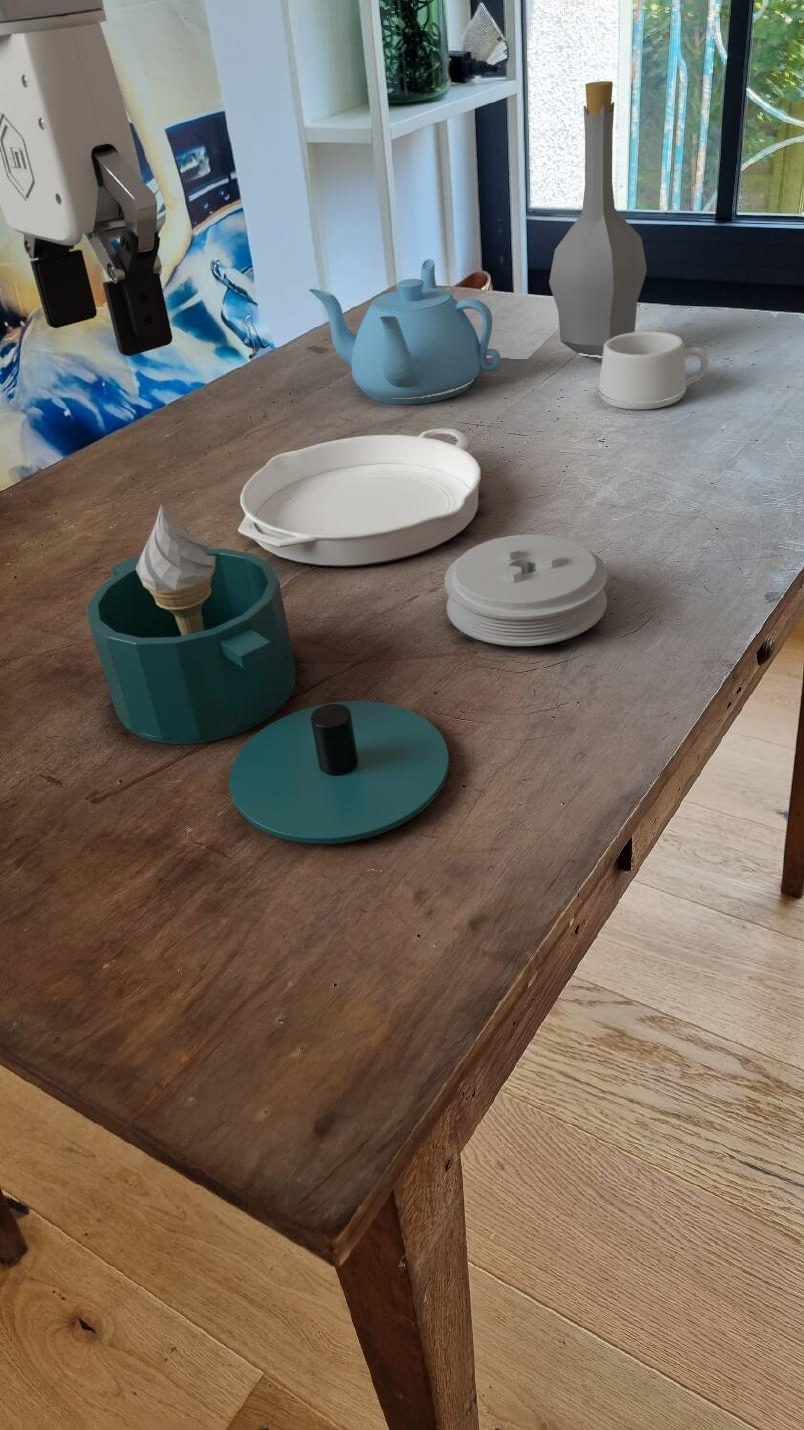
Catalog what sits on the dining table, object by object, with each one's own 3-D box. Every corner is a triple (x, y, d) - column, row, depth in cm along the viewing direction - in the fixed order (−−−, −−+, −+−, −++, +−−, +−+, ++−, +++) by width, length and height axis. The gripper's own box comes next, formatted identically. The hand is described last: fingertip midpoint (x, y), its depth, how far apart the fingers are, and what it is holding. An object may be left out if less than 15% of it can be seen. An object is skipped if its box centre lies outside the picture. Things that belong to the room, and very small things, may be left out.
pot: (191, 786, 75) (163, 682, 70) (72, 679, 87) (41, 585, 83) (352, 702, 81) (336, 601, 76) (218, 613, 94) (198, 522, 89)
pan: (179, 538, 107) (170, 500, 104) (374, 442, 122) (370, 407, 119) (358, 609, 92) (352, 566, 90) (554, 490, 107) (553, 451, 105)
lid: (491, 565, 96) (488, 512, 93) (630, 591, 90) (631, 535, 87) (419, 637, 87) (413, 581, 85) (567, 670, 82) (566, 612, 79)
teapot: (317, 389, 138) (302, 287, 131) (437, 351, 146) (429, 252, 138) (394, 423, 126) (383, 313, 119) (521, 379, 133) (517, 273, 126)
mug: (604, 415, 121) (604, 361, 118) (594, 385, 129) (594, 333, 126) (715, 406, 121) (719, 350, 117) (698, 376, 128) (701, 324, 125)
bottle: (645, 375, 130) (654, 85, 113) (549, 379, 133) (543, 95, 115) (643, 345, 139) (651, 72, 122) (553, 349, 142) (548, 81, 124)
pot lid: (314, 886, 66) (301, 821, 63) (192, 778, 75) (176, 717, 73) (495, 775, 73) (491, 711, 70) (361, 689, 82) (353, 630, 79)
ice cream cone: (257, 680, 84) (218, 497, 75) (199, 715, 81) (152, 528, 72) (210, 657, 87) (169, 479, 78) (153, 690, 84) (103, 509, 75)
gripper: (-101, 11, 61) (-6, 328, 70) (25, -1, 49) (118, 380, 59) (27, -4, 64) (100, 299, 74) (172, -19, 53) (237, 343, 62)
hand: (108, 335), depth 66 cm, fingers open, 9 cm apart
